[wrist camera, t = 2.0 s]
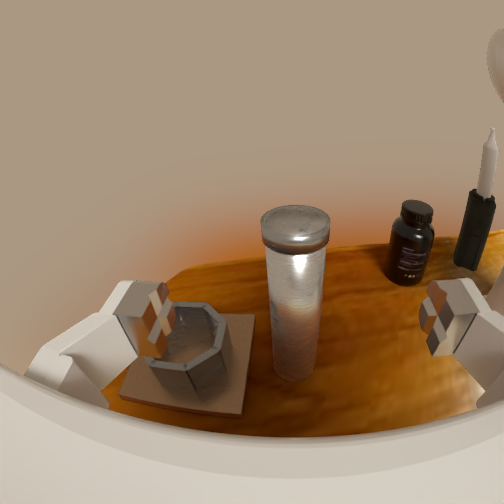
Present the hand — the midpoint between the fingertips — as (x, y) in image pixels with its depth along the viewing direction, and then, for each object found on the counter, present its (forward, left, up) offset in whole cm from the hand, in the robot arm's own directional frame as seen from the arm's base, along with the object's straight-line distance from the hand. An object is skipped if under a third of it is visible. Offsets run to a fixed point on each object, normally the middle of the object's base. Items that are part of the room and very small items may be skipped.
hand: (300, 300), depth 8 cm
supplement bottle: (-18, -28, -22) cm, 40 cm away
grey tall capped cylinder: (0, -12, -22) cm, 25 cm away
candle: (-33, -31, -22) cm, 50 cm away
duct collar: (+12, -12, -22) cm, 27 cm away
